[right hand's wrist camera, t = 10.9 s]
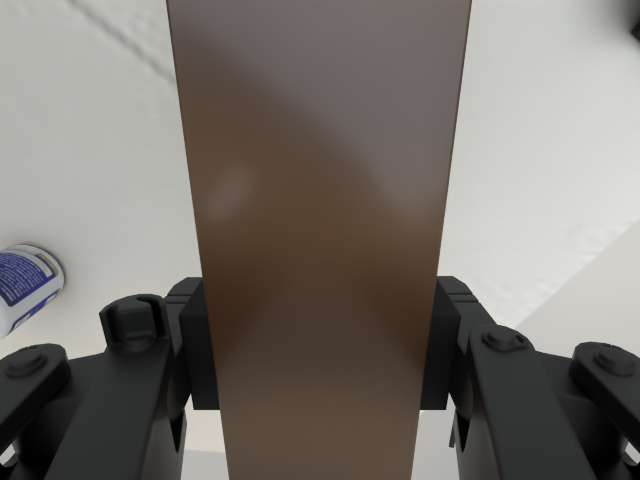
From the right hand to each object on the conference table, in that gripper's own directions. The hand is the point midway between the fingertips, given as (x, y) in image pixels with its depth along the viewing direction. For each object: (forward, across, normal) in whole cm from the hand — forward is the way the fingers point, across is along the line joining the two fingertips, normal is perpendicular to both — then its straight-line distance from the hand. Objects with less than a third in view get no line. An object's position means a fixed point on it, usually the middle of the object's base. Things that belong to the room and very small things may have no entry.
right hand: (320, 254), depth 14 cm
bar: (+1, 0, -24) cm, 24 cm away
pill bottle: (+14, +24, +8) cm, 29 cm away
